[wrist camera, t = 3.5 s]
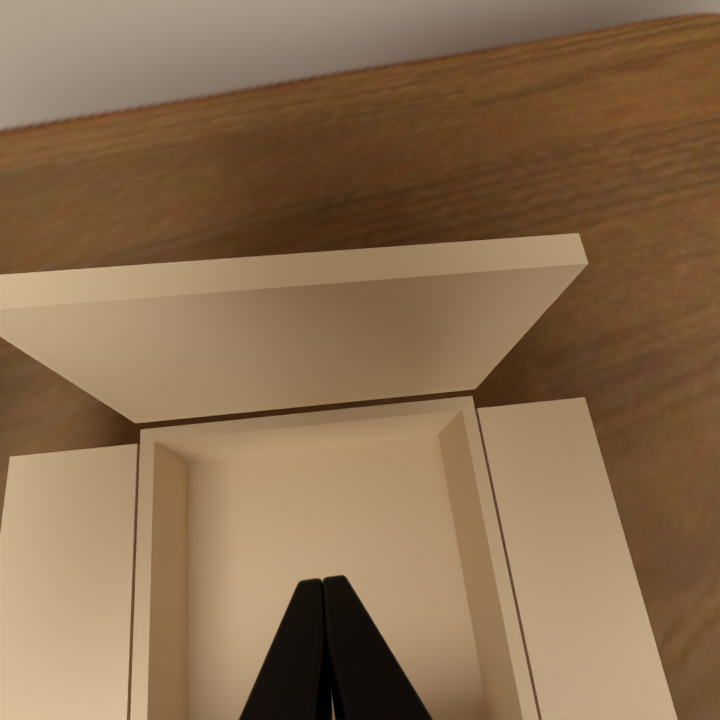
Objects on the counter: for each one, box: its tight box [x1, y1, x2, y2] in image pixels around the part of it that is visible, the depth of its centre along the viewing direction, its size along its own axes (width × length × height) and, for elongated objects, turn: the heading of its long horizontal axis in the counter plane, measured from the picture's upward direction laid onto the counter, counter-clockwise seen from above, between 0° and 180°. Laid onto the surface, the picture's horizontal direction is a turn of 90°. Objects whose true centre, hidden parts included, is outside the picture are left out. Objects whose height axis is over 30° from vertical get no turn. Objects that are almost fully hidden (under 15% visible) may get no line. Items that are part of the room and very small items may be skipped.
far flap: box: [0, 233, 588, 423], centre depth 11 cm, size 1×10×7 cm, turn 97°
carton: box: [0, 396, 678, 720], centre depth 14 cm, size 17×17×4 cm
